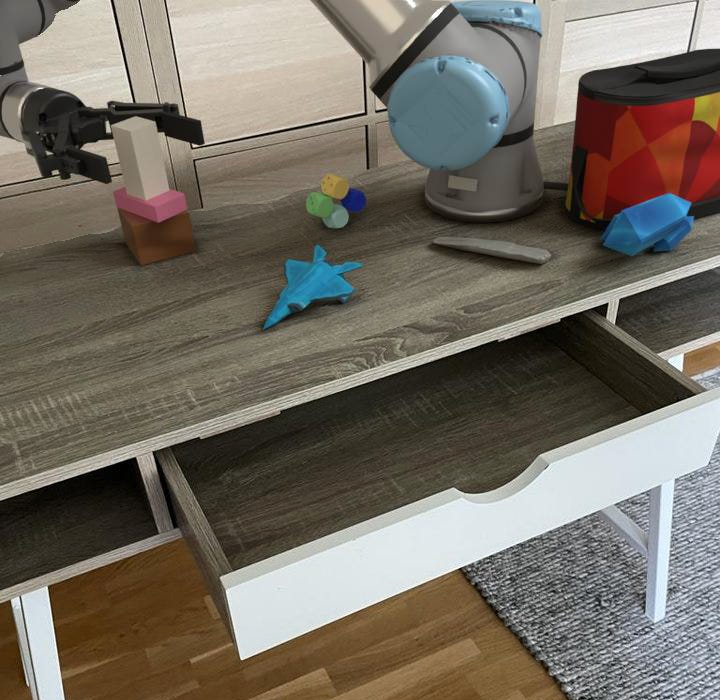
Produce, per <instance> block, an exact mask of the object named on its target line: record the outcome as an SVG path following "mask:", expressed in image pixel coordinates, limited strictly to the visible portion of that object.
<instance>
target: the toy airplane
mask: <svg viewBox="0 0 720 700" xmlns="http://www.w3.org/2000/svg"><path fill="white" fill-rule="evenodd" d="M327 254H328V251H326V250H325V249H324V248H323V247H322V246H321V245H320V244H319V243H317V244H316V245H315V246H314V251H313V260H312V263H311V262H304V261H299V260H294V259H287V260H286V261H285V262H284V263H283V264H282V270H283V273H284V277H285V281H286V286H285V287H284V289H283V290H282V291H281V293H280V294H279V295H278V297H277V302H276V304H275V305H274V308H273V310H272V311H271V312H270V314H269V315H268V317H267V319H266V321H265V323H264V325H263V328H262V330H265V329H268V328H270V327H272V326H274V325H276V324H277V323H279V322H280V321H282V320H284V318H286V317H287V316H289V315H291V314H294V313H297V312H301V311H303V310H304V309H306V307H307V306H308V305H309V304H311V303H312V302H313V303H314V302H319V301H326V300H331V299H332V300H333V299H336V300H338V301H339V302H341V304H345V303H346V302H347V301H348V300H349V299H350V298H351V296H352V295H353V293H354V292H356V290H357V289H356V288H355V287H353V286H352V285H351V284H350V283H348V282H347V280H346V277H345V275H344V274H346V273H348V272H352V271H355V270H358V269H361V268H363V266H364V265H365V262H356V261H350V260H349V261H348V260H347V261H345V262H344V263H343V264H342V265H341V264H336V262H335V261H333V260H331V261H330V259H329V258H326V255H327Z"/></svg>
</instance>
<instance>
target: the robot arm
mask: <svg viewBox="0 0 720 700" xmlns="http://www.w3.org/2000/svg"><path fill="white" fill-rule="evenodd" d="M79 1H80V0H0V75H1V76H0V137H3V138H8V139H10V140H14V141H16V142H18V143H21V144H22V143H23V144H24V146H25V150H26V154H27V155H30V156H31V157H33V158H34V160H35V162H36V165H37V167H38V171H39V173H40V175H41V177H42V178H50V177H52V176H53V172H55V171H58V175H59V178H60V180H61V181H63V180H64V181H66V180H71V178H72V175H71V174H73V175H77V176H81V177H85V178H87V179H91V180H93V181H97V182H99V183H102V184H105V185H109V184H111V183H113V179H112V176H111V171H110V167H109V164H108V159H107V157H106V156H104V155H100V154H96V153H93V152H91V151H87V150H84V149H82V148H83V147H84V146H85V145H86V144H94V143H98V142H99V141H112V140H113V141H114V137H113V133H112V129H111V125H113V124H116V123H119V122H121V121H124V120H127V119H130V118H132V117H135V116H136V117H140V118H144V119H147V120H151V121H155V122H156V127H157V132H158V134H159V133H163V134H164V137H167V138H171V139H174V140H177V141H182V142H184V143H189V144H191V145H195V146H200V147H201V146H203V145H205V144H206V142H205V137H204V130H203V126H202V121H201V120H200V119H198V118H193V117H189V116H186V115H181V113H180V109H179V104H178V103H169V102H167V101H164V102H162V103H159V102H158V103H157V102H123V101H117V100H109V101H107V102H106V106H107V107H100V108H94V107H92V106H87V105H85V103H84V102H83V101H82V100H81V99H80V98H79V97H78V96H77V95H75V94H74V93H71V92H69V91H67V90H62V89H59V88H55V87H51V86H49V85H46V84H41V83H36V82H33V81H30V80H29V77H28V74H27V70H26V66H25V62H24V58H23V54H22V51H21V48H20V45H21V44H24V43H25V42H28V41H31V40H34V38H38V37H39V36H38V35H40V34H41V33H43V32H44V31H45V30H46V29H47V28H48V27H49V26H50V25H51V24H52V22H53V21H54V18H55V16H56V15H55V14H56V13H58V12H59V11H61V10H65V9H68V8H69V7H71V6H73V5H75V4H77V3H78V2H79ZM309 1H310V2H311V3H312V4H313V6H315V8H316V9H317V10H318V11H319V12H320V13H321V15H323V16H324V18H325V19H326V20H327V21H328V22H329V24H331V25H332V27H334V29H335V30H336V32H338V34H340V36H341V37H342V38H343V39H344V40H345V41H346V42H347V43H348V45H350V47H351V49H353V50H354V51H355V52H356V53H357V54H358V56H359V57H360V58H361V59H362V60H363V61H364V62H365V64H366V65H367V67H368V68H367V69H368V89H370V91H371V92H372V93H373V94H374V95H375V96H376V97H377V99H378V100H379V102H381V103H382V104H383V105H384V107H385V108H386V109H387V118H388V127H389V131H390V134H391V136H392V138H393V140H394V142H395V144H396V145H397V147H398V149H400V151H401V152H402V153H403V154H404V155H405V156H406V157H407V158H408V159H410V160H411V161H412V162H414V163H416V164H418V165H420V166H421V167H424V168H427V169H429V171H428V174H427V177H426V180H425V186H424V202H425V204H426V206H427V207H428V209H429V210H431V211H433V212H434V213H436V214H438V215H440V216H441V217H444V218H447V219H451V220H454V221H459V222H466V223H497V222H498V223H499V222H506V221H511V220H516V219H519V218H522V217H524V216H527V215H529V214H531V213H533V212H535V211H536V210H537V209H538V208H540V206H541V205H542V203H543V200H544V194H545V190H551V191H563V192H568V185H569V182H559V181H548V180H547V181H546V180H544V177H543V173H542V168H541V165H540V161H539V157H538V152H537V149H536V143H535V140H534V133H535V132H534V131H535V120H536V119H535V118H536V105H537V93H538V92H537V91H538V80H539V79H538V78H539V64H540V54H541V53H540V52H541V39H542V37H543V34H544V31H543V29H542V11H541V9H540V8H539V6H538V5H537V4H535V3H533V2H529V1H522V0H458V1H450V0H309ZM40 36H41V35H40ZM107 122H108V125H109V129H110V132H108V131H107ZM47 152H48V153H51V154H48V153H47Z"/></svg>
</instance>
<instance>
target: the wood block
mask: <svg viewBox="0 0 720 700" xmlns="http://www.w3.org/2000/svg"><path fill="white" fill-rule="evenodd" d="M116 209H117V212H118V216H119V221H120V225H121V230H122V233H123V237H124V241H125V244H126V246H127V247H128V249H129V250H130V252H131V253H132V255H133V256H134V258H135V259H136V260H137V263H139V264H140V266H145V265H147V264H148V265H149V264H152V263H156V262H160V261H163V260H168V259H172V258H176V257H179V256H183V255H186V254H191V253H196V252H197V247H196V243H195V236H194V232H193V227H192V221H191V215H190V212H189V210H188V209H187V210H185V211H183V212H181V213H179V214H177V215H175V216H172V217H170V218H168V219H166V220H164V221H162V222H159V223H157V222H155V221H152V220H149V219H147V218H144V217H141V216H139V215H136V214H133V213H130V212H128V211H125V210H122V209H120V208H117V207H116Z"/></svg>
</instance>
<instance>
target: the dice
mask: <svg viewBox="0 0 720 700" xmlns="http://www.w3.org/2000/svg"><path fill="white" fill-rule="evenodd" d="M320 188H321V192H317V191H313V192H310V194H309V195H308V196H307V198H306V200H305V208H306V210H307V212H308V213H309V214H310V215H313V216H316V217H319V218H321V219H322V222H323V224H324V225H325V227H327V228H329V229H336V230H337V229H341V228H344V227H345V226H346V225H348V222H349V217H350V216H349V212H348V211H351V212H355V213H356V212H357V213H359V212H361V211H362V210H364V208H365V207H366V205H367V197H366V195H365V193H364V191H362V190H359V189H356V188H353V187H352V188H351V187H350V185H349V181H348V179H346V178H344V177H341V176H339V175H336V174H333V173H327V174H326V175H325V176H324V177H323V178H322V181H321V184H320ZM333 199H336V200H339V201H340V204H335V203H334V200H333Z"/></svg>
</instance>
